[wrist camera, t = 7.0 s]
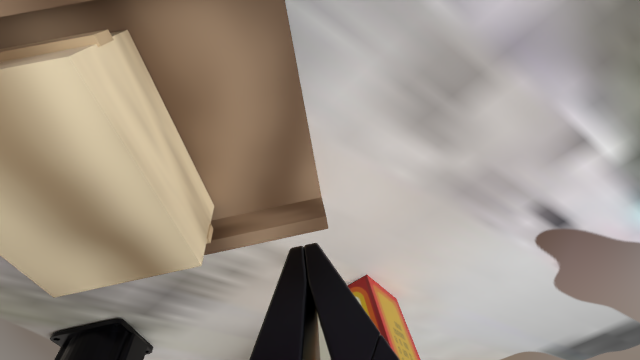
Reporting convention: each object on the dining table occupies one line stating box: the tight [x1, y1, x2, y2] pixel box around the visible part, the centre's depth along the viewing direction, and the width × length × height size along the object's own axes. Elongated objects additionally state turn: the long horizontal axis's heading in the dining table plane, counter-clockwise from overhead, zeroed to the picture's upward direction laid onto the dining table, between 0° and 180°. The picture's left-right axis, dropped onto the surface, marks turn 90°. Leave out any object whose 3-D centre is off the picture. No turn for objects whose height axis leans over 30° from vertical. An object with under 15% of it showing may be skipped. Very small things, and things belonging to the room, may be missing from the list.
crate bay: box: [0, 0, 328, 255], centre depth 16 cm, size 17×16×4 cm
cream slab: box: [0, 29, 214, 298], centre depth 15 cm, size 8×12×5 cm
